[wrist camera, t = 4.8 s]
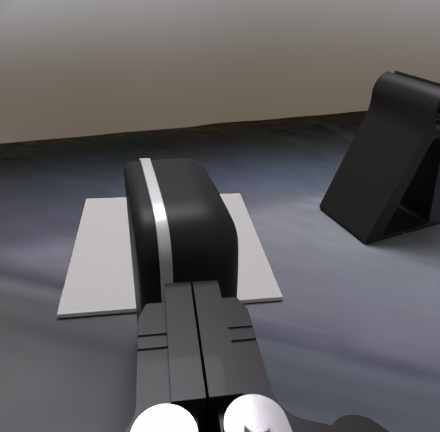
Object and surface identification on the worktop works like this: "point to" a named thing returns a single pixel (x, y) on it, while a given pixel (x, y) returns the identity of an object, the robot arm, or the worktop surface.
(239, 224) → the mat
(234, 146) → the worktop surface
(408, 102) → the phone stand
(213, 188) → the battery charger
